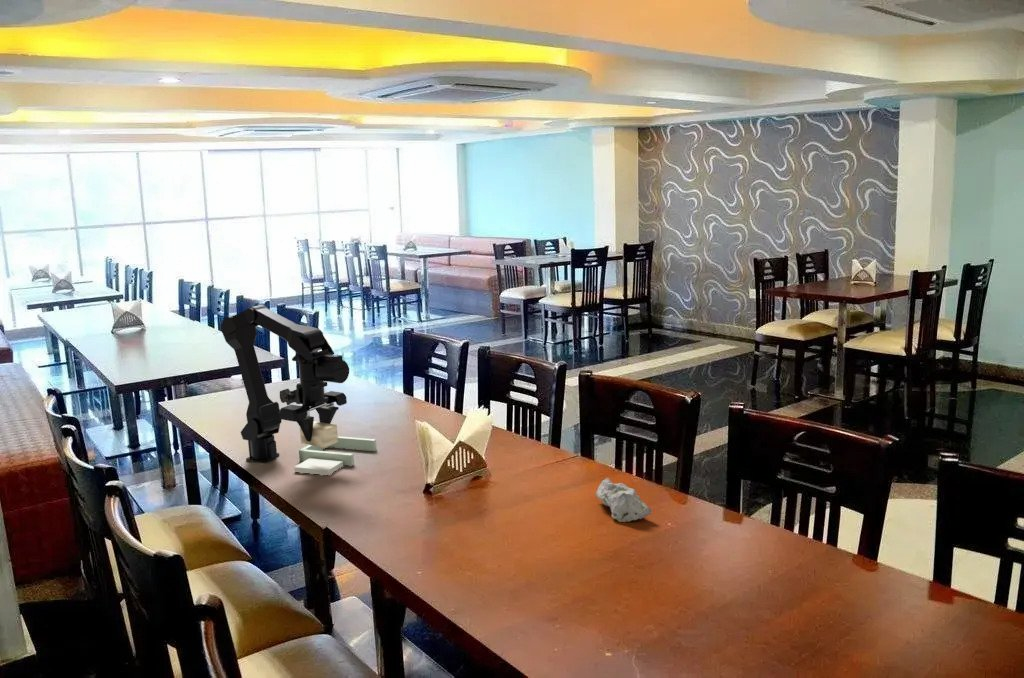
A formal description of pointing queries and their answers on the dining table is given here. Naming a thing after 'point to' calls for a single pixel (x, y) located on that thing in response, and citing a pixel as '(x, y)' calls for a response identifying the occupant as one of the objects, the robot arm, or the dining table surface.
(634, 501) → the rock
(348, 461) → the shelf bay
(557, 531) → the dining table surface
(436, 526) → the dining table surface
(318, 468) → the stand
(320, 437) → the block
